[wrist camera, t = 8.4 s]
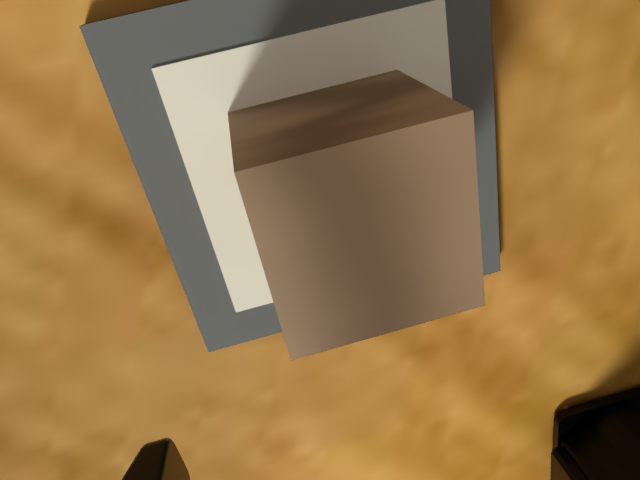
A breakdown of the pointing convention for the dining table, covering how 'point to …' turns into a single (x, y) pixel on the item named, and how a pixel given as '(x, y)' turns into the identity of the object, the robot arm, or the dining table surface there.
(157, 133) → the coaster
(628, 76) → the dining table surface
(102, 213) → the dining table surface
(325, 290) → the cube
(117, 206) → the dining table surface
